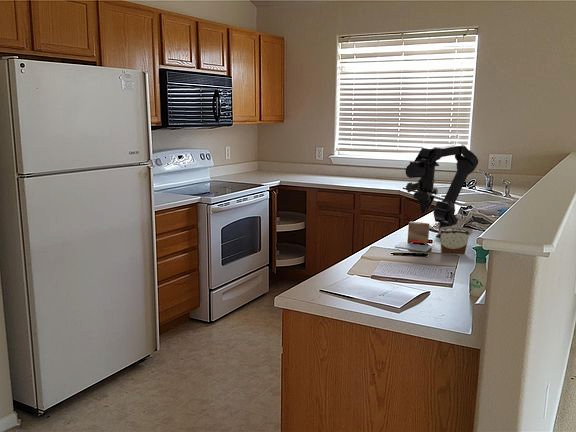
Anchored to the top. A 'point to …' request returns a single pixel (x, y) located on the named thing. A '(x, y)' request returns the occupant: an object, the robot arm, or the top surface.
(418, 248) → the board
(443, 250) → the food container
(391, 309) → the top surface
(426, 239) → the wooden block
